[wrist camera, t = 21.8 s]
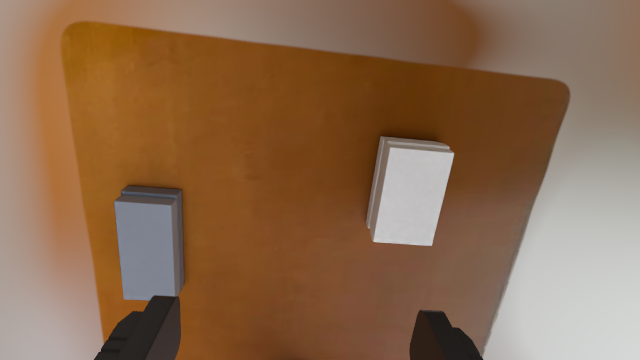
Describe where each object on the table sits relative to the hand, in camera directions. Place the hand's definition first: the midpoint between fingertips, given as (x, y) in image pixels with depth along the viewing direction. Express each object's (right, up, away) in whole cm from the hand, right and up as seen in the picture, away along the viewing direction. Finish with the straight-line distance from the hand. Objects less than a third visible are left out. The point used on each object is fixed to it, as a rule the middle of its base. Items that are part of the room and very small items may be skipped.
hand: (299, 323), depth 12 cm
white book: (+10, +3, +24) cm, 26 cm away
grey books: (-17, -2, +28) cm, 33 cm away
